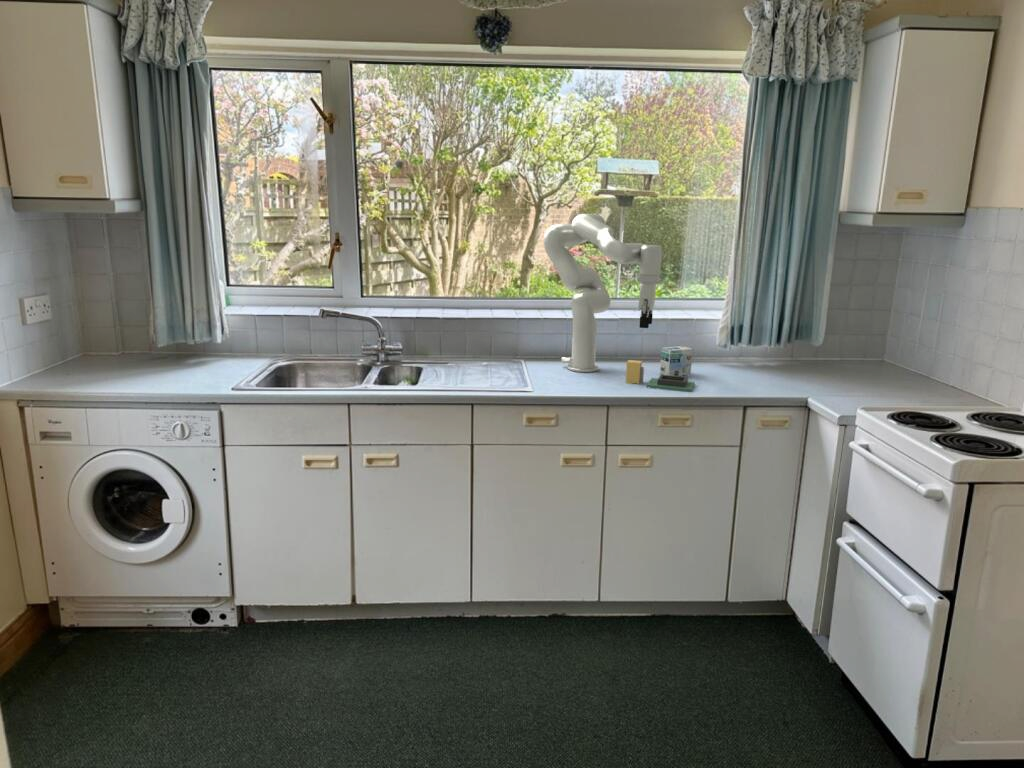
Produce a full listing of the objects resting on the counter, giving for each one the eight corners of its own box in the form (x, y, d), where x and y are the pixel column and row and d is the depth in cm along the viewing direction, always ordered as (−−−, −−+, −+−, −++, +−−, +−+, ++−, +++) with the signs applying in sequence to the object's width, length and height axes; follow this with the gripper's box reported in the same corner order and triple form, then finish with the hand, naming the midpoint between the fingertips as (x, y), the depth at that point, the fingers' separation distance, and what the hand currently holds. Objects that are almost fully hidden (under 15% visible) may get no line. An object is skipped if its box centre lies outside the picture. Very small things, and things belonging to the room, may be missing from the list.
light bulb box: (668, 377, 283) (670, 350, 280) (658, 373, 289) (660, 346, 286) (691, 375, 287) (693, 348, 284) (681, 371, 293) (683, 345, 290)
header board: (646, 387, 266) (647, 379, 266) (651, 380, 277) (652, 372, 277) (691, 392, 261) (691, 383, 260) (694, 384, 272) (695, 376, 271)
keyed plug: (625, 382, 273) (626, 362, 271) (627, 380, 276) (628, 359, 274) (641, 384, 271) (643, 363, 269) (643, 382, 274) (644, 361, 273)
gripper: (642, 276, 274) (638, 321, 278) (635, 281, 258) (632, 328, 262) (662, 277, 272) (658, 323, 276) (656, 282, 256) (652, 330, 260)
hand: (645, 325), depth 269 cm, fingers open, 9 cm apart
